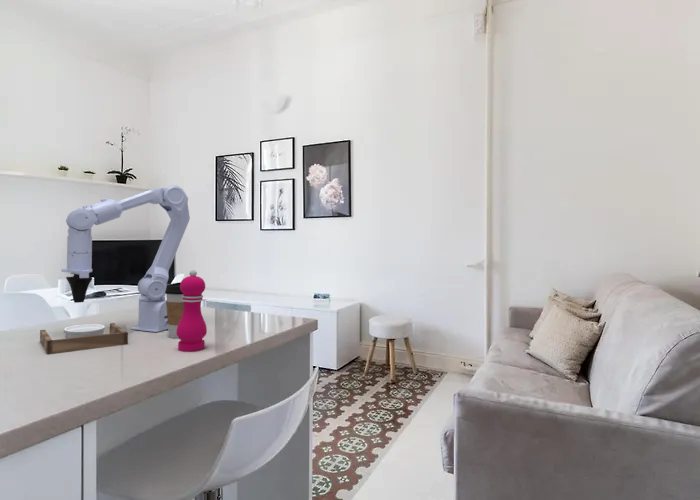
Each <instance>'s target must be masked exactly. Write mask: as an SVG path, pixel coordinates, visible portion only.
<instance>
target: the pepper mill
mask: <svg viewBox="0 0 700 500" xmlns="http://www.w3.org/2000/svg"><path fill="white" fill-rule="evenodd" d="M197 274H198V272H197V271H196V270H195V269H190V271H189V276H186V277H184V278H182V280H181V281H180V282H181V284H180V290H181V291H182V293H183V294H184V295H183V296H182V297H183V298H182V301H183V302H184V312H183V315H182V318H181V320H180V322H179V324H178V327H177V332H176V334H177V336H178V337H179V338H178V339H179V340H180V341H178V342H177V346H178V348H177V349H178V350H179V351H180V352H196V351H197V352H198V351H202V350H203V349H205V340H204V338H205V336H206V335H207V331H208V329H207V324H206V321H205V319H204V317H203V314H202V302H203V301H204V298H203V297H204V295H203V293H204V292H205V290H206V282H205V280H204V278H202V277H200V276H197Z"/></svg>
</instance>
